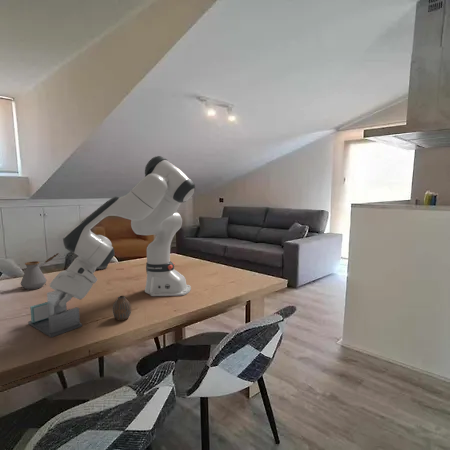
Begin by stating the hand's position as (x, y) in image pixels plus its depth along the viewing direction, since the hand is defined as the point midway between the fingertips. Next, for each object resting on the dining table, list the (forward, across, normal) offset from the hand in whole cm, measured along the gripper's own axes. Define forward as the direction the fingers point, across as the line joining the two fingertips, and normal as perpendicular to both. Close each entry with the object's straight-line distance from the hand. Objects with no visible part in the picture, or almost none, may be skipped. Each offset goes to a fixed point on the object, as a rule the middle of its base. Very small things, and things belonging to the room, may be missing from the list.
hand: (55, 303), depth 118 cm
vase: (-7, +14, +19) cm, 24 cm away
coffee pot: (-9, -58, +20) cm, 62 cm away
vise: (+6, -1, +6) cm, 8 cm away
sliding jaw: (+5, -7, +5) cm, 10 cm away
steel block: (+3, 0, +4) cm, 5 cm away
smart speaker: (-35, -64, +46) cm, 86 cm away
